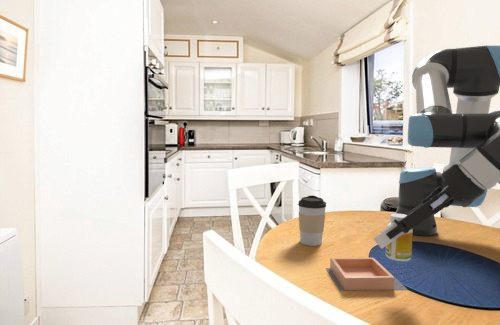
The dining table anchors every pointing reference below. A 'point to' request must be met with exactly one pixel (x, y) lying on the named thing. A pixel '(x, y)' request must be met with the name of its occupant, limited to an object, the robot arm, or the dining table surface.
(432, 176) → the robot arm
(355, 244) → the dining table surface
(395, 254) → the supplement bottle
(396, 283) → the mat
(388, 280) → the dish
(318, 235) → the coffee cup
